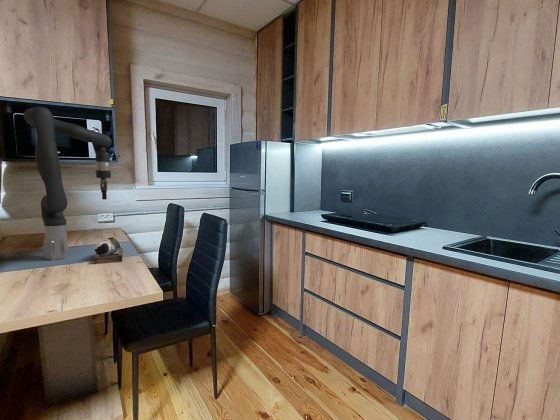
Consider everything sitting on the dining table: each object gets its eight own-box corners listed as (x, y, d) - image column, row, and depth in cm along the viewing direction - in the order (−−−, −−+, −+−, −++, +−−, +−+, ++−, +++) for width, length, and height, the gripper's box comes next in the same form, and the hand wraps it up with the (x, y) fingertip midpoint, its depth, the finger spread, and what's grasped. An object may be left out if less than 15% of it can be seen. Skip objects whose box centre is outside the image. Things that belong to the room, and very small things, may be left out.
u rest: (98, 255, 162) (97, 249, 161) (122, 253, 167) (122, 247, 167) (94, 264, 146) (94, 258, 145) (122, 261, 151) (121, 255, 151)
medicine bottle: (122, 247, 163) (108, 250, 151) (112, 254, 164) (97, 258, 152) (115, 236, 163) (100, 239, 151) (104, 244, 164) (89, 247, 152)
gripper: (96, 169, 178) (98, 198, 180) (94, 169, 166) (95, 200, 168) (111, 170, 181) (112, 198, 183) (109, 169, 169) (111, 200, 171)
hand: (104, 199), depth 175 cm, fingers closed
